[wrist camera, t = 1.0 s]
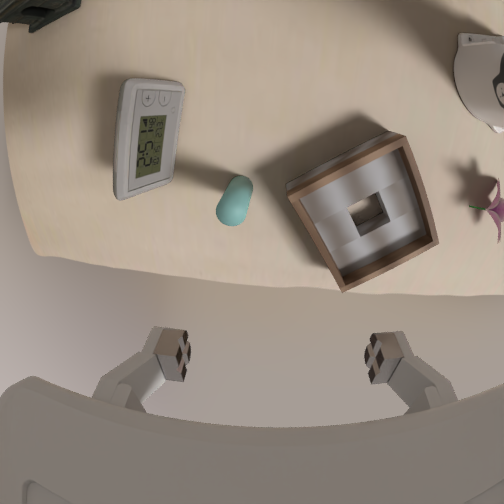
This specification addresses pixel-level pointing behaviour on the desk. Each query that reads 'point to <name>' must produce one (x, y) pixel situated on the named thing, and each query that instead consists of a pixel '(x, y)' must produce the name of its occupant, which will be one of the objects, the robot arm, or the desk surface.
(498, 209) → the lily
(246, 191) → the peg
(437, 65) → the desk surface
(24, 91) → the desk surface
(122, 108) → the digital clock
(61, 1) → the model
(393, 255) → the bore box
